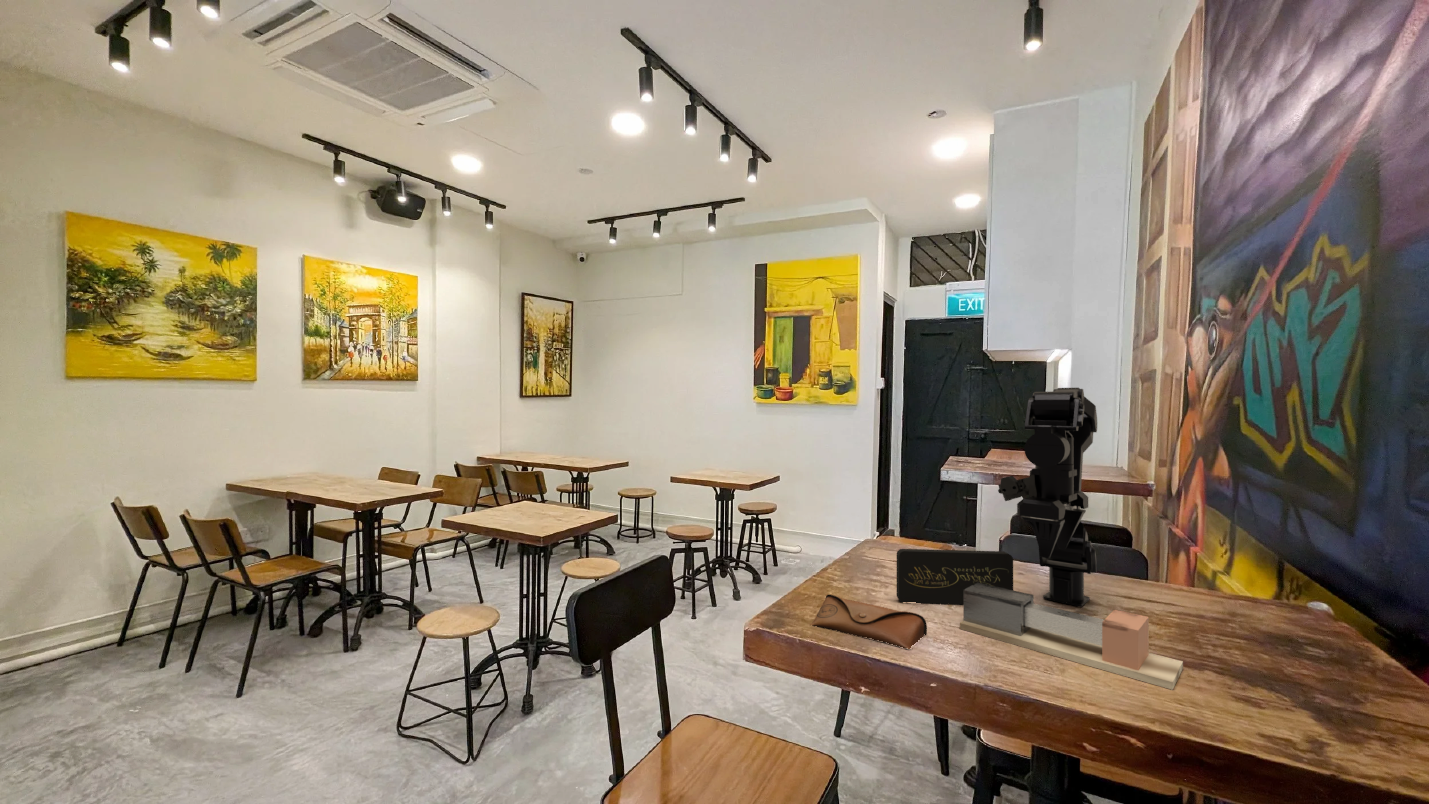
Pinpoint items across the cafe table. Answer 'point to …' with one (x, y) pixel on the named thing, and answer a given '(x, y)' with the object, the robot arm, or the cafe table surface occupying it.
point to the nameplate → (949, 574)
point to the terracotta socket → (1125, 639)
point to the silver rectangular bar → (1063, 623)
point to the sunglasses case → (871, 621)
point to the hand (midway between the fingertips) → (1054, 553)
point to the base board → (1086, 654)
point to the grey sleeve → (996, 608)
